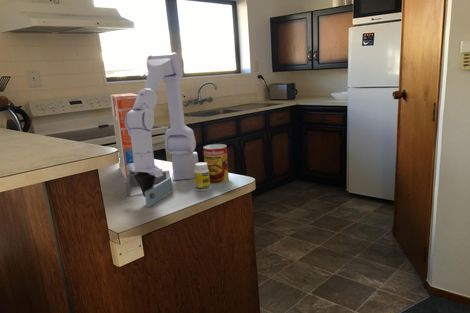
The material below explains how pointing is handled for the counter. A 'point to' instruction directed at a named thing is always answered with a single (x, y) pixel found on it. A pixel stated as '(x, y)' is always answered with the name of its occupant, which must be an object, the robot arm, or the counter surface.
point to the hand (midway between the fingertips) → (148, 196)
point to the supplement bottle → (202, 177)
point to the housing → (134, 186)
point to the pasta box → (123, 129)
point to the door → (158, 192)
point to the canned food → (216, 162)
